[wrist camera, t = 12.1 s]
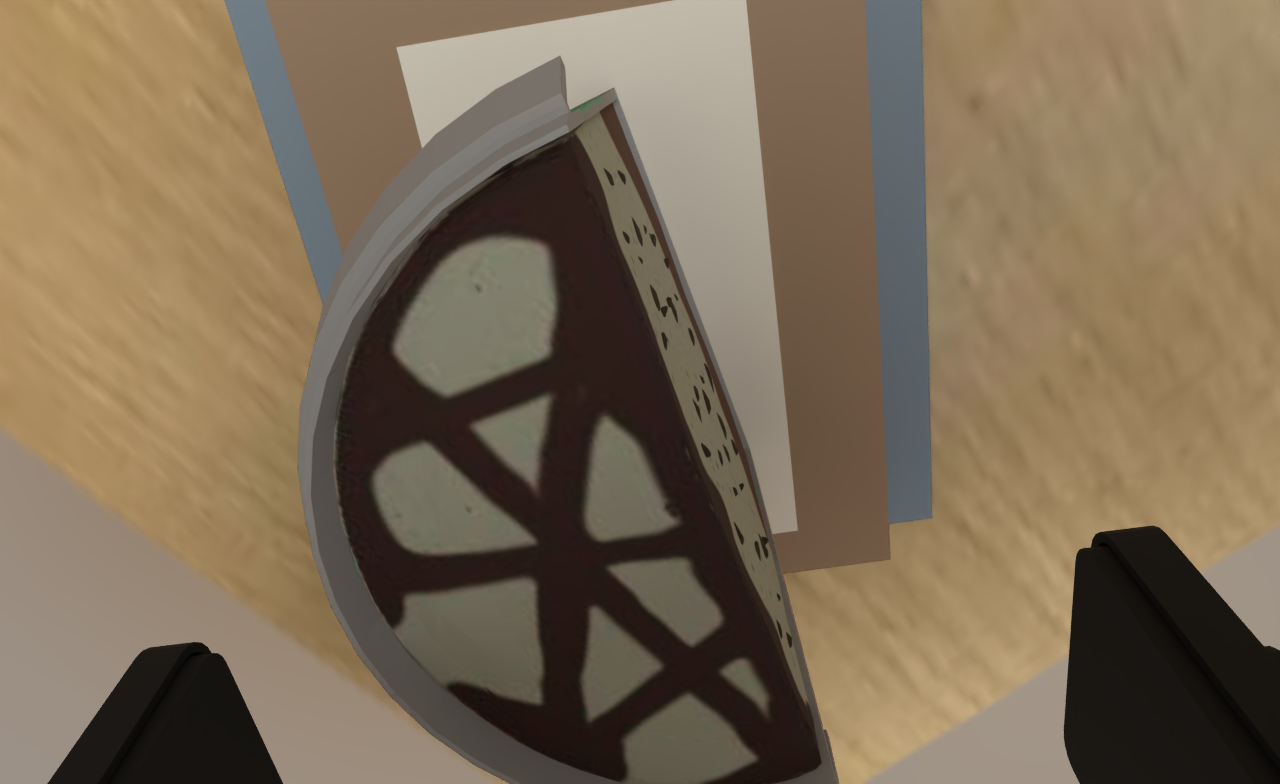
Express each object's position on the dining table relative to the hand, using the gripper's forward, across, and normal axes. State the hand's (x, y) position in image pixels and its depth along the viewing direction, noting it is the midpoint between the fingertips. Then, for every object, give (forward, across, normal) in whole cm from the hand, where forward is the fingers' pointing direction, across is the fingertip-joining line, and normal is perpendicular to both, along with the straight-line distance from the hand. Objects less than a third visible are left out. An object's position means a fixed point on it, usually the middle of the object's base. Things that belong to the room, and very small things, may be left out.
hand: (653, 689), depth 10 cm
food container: (+12, +2, +1) cm, 13 cm away
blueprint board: (+16, +1, +1) cm, 16 cm away
